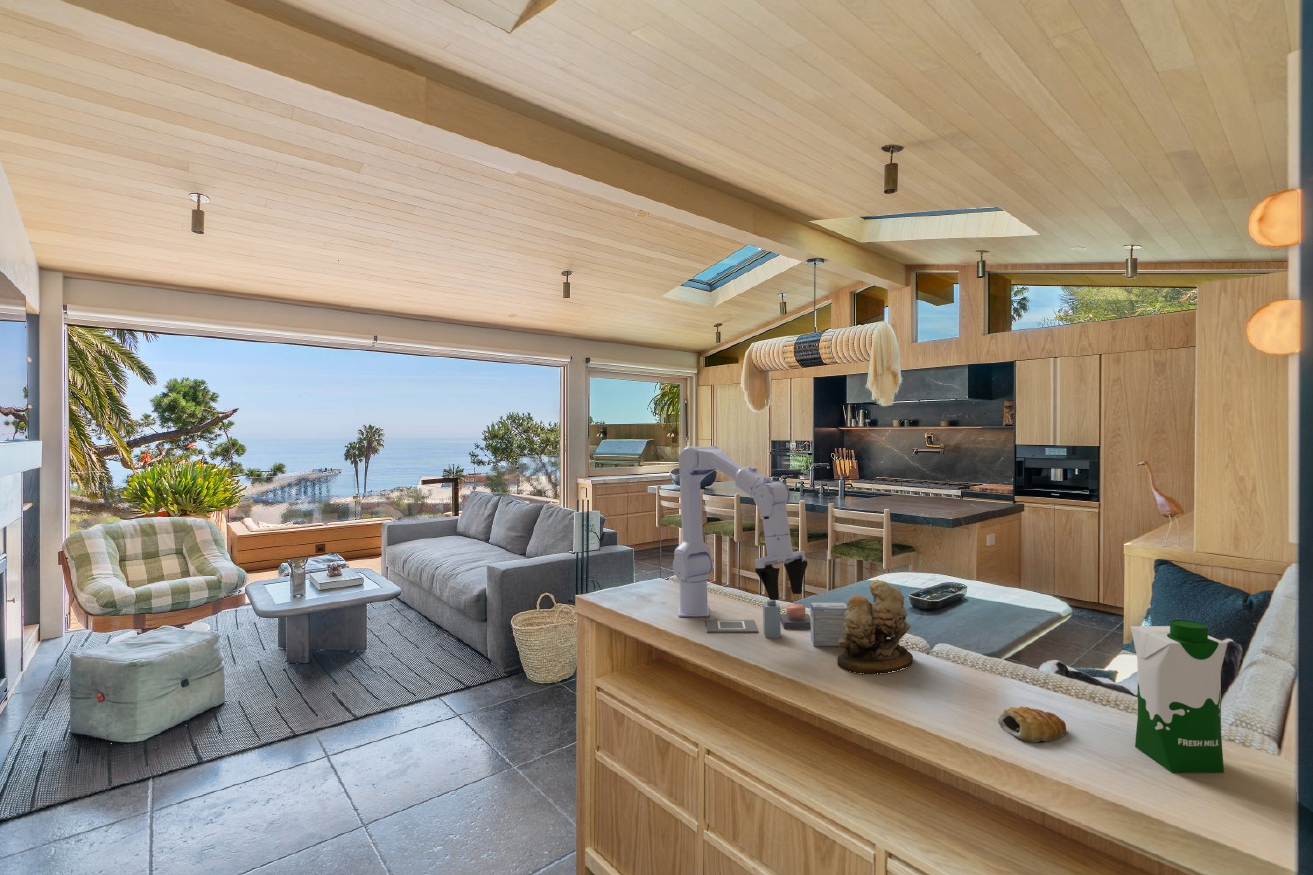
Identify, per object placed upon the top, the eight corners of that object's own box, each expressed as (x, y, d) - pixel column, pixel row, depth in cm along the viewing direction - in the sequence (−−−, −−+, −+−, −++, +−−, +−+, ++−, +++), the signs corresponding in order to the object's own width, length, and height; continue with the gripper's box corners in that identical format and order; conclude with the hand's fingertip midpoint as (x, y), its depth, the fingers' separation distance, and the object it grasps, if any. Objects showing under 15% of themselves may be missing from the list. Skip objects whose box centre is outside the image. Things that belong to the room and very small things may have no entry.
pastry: (1044, 720, 103) (1044, 697, 103) (1079, 740, 96) (1079, 715, 96) (994, 726, 101) (993, 702, 101) (1026, 747, 95) (1026, 722, 95)
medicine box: (846, 640, 143) (845, 602, 143) (850, 647, 138) (849, 607, 138) (810, 640, 143) (809, 602, 143) (813, 646, 139) (812, 607, 139)
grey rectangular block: (763, 632, 149) (762, 598, 149) (778, 632, 149) (777, 598, 149) (765, 637, 146) (764, 602, 146) (780, 637, 146) (780, 602, 146)
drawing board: (706, 621, 159) (706, 619, 159) (754, 621, 158) (754, 619, 158) (707, 632, 150) (707, 630, 150) (758, 632, 149) (758, 630, 149)
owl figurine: (883, 646, 139) (883, 568, 139) (930, 663, 129) (930, 579, 129) (823, 661, 130) (822, 578, 130) (868, 681, 120) (868, 591, 120)
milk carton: (1170, 776, 86) (1169, 629, 85) (1123, 743, 95) (1122, 610, 94) (1237, 776, 85) (1236, 629, 85) (1183, 743, 94) (1182, 610, 94)
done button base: (779, 619, 159) (779, 613, 159) (808, 619, 158) (808, 613, 158) (784, 628, 152) (784, 622, 152) (813, 628, 151) (813, 622, 151)
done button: (785, 612, 157) (785, 603, 157) (803, 612, 157) (803, 603, 157) (788, 617, 153) (788, 608, 153) (807, 617, 153) (806, 608, 153)
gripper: (768, 538, 135) (777, 603, 133) (812, 530, 144) (820, 591, 142) (744, 539, 141) (753, 601, 139) (788, 532, 149) (796, 590, 148)
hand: (785, 596), depth 141 cm, fingers open, 7 cm apart
